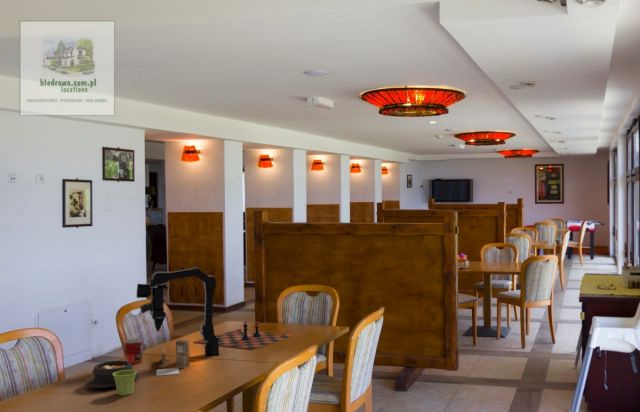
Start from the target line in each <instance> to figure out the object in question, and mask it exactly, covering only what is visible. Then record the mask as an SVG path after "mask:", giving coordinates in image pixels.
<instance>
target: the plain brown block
mask: <svg viewBox="0 0 640 412" xmlns="http://www.w3.org/2000/svg"><path fill="white" fill-rule="evenodd" d="M175 357H176V358H175V359H176V362H175V363H176V364H175V365H176V368H179V369H183V368H184V369H187V368H189V367H190V341H189V339H179V340H176V341H175Z"/></svg>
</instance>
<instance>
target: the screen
mask: <svg viewBox="0 0 640 412" xmlns="http://www.w3.org/2000/svg"><path fill="white" fill-rule="evenodd" d="M166 356H167V355H166V347H162V348H161V358H159V362H162V363H161V364H159V368H168V367H169V364H167V362H166V361H168V362H169V358H167V357H166Z"/></svg>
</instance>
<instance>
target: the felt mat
mask: <svg viewBox="0 0 640 412" xmlns="http://www.w3.org/2000/svg"><path fill="white" fill-rule="evenodd" d="M173 374H174V375H179V374H180V368H177V367H174V368H163V369H160V368H159V369H156V376H155V377H160V376H171V375H173Z"/></svg>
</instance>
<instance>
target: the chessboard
mask: <svg viewBox="0 0 640 412" xmlns="http://www.w3.org/2000/svg"><path fill="white" fill-rule="evenodd" d="M259 324H260V322H259V321H254V328H255V331H256V333H251V332H250V333H247V330H249V329H248V323H247V321H244V322H243V326H242V327H243V328H238V329H239V330H238V329H235V330H231V331H228V332H224V333H221V334H217V335H216V334H215V335H216V336H217V337H218V339H219V347H224V348H231V349H240V350H247V349H248V351H254V350H257V349H259V348H262V347H265V346H268V345H271V344H275V343H276V342H279V341H283V340H285V339H288V338H290V337H293V336H295V334H289V333H282V334H283V335H278V334H277V335H275V334H274V335H272V334H270V333H264V332H265V331H263V332H260V333H259V332H258V331H259V328H260V326H259ZM241 329H243V330H244V332H242V331H241ZM206 342H207V341H206V340H205V339H204V338H202V339H198V340H196V341H195V340H194V341H193V343H194V344H200V345H206Z"/></svg>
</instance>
